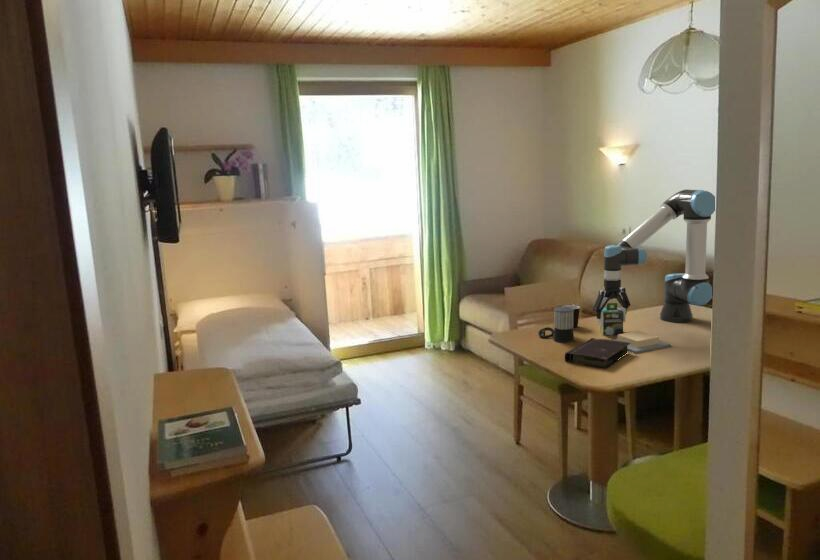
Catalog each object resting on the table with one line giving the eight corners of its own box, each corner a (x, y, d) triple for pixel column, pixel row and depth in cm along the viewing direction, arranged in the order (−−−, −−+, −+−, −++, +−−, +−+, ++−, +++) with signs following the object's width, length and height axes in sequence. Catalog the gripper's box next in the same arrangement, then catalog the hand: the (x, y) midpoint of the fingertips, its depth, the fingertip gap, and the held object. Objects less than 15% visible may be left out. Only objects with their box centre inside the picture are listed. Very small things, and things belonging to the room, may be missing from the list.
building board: (640, 336, 279) (640, 327, 278) (670, 346, 263) (671, 337, 262) (605, 342, 271) (605, 334, 271) (635, 353, 255) (635, 344, 254)
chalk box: (619, 330, 290) (620, 300, 287) (623, 335, 281) (624, 304, 278) (599, 330, 291) (600, 300, 289) (602, 335, 282) (603, 304, 280)
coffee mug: (580, 329, 295) (580, 309, 293) (562, 329, 297) (562, 309, 295) (578, 323, 306) (578, 303, 304) (561, 322, 308) (561, 303, 306)
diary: (564, 363, 249) (563, 351, 248) (590, 347, 268) (590, 336, 267) (608, 370, 237) (608, 358, 236) (632, 354, 256) (632, 342, 255)
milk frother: (575, 343, 273) (575, 311, 270) (539, 343, 276) (539, 311, 273) (571, 334, 287) (572, 303, 284) (537, 334, 290) (537, 304, 287)
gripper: (627, 274, 290) (626, 317, 294) (585, 280, 280) (584, 325, 284) (639, 277, 283) (637, 321, 287) (596, 283, 273) (595, 328, 277)
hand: (611, 323), depth 285 cm, fingers open, 13 cm apart
